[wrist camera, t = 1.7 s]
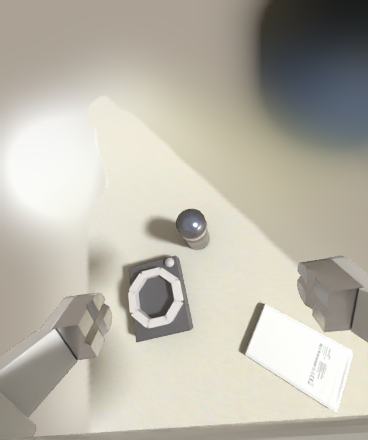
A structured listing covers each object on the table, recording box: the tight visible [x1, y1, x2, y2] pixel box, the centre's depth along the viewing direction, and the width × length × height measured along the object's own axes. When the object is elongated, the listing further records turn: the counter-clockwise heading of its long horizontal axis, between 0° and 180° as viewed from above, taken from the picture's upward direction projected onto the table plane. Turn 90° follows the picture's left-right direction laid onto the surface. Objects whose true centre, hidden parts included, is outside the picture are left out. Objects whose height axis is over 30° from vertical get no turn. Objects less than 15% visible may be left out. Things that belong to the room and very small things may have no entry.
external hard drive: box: [244, 304, 353, 413], centre depth 29 cm, size 2×8×12 cm
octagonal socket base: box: [128, 256, 193, 342], centre depth 34 cm, size 12×9×4 cm
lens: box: [176, 209, 210, 250], centre depth 35 cm, size 5×5×9 cm
